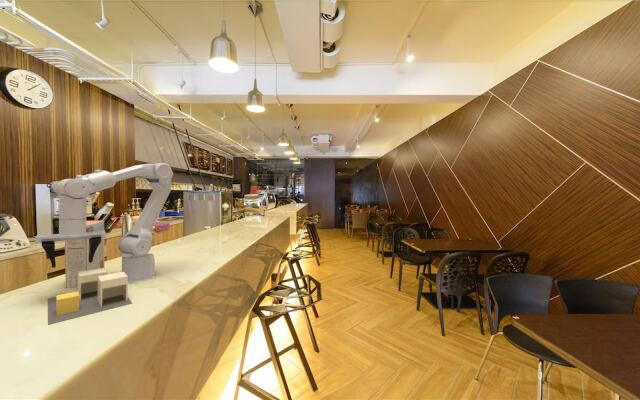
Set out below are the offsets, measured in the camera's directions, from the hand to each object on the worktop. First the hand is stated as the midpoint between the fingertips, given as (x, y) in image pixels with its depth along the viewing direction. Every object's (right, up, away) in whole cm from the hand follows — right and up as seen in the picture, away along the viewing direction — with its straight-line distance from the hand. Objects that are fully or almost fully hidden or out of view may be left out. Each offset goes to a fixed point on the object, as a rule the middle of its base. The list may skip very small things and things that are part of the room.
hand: (72, 264), depth 73 cm
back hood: (+5, -10, +1) cm, 11 cm away
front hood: (+14, -10, -2) cm, 17 cm away
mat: (+8, -10, -3) cm, 13 cm away
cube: (+8, -10, -9) cm, 15 cm away
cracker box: (-8, -10, +12) cm, 18 cm away
